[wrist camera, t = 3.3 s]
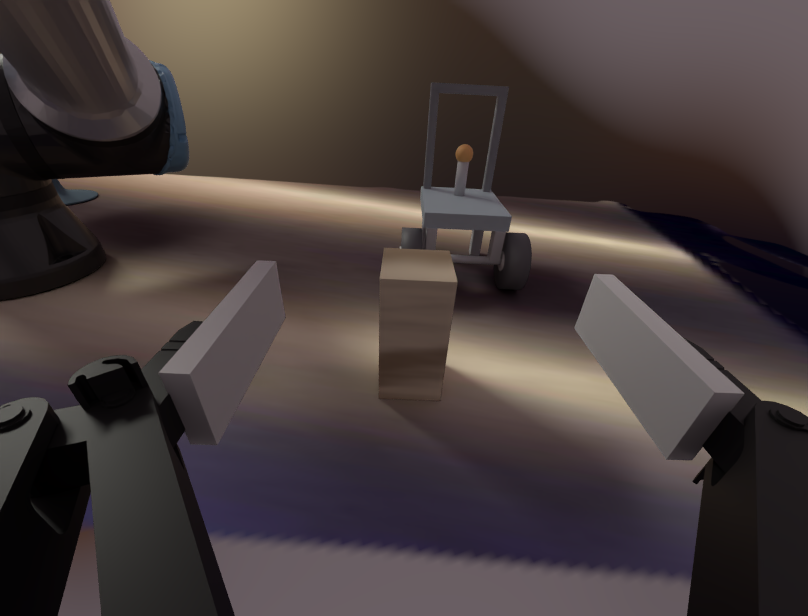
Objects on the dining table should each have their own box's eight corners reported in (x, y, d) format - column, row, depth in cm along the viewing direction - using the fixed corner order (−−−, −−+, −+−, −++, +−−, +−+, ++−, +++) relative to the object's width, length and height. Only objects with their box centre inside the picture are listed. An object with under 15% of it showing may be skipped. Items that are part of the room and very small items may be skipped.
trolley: (523, 300, 42) (580, 89, 31) (398, 294, 42) (407, 80, 30) (496, 250, 55) (530, 88, 43) (400, 246, 55) (407, 81, 43)
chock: (440, 400, 28) (457, 282, 22) (378, 398, 28) (379, 278, 22) (435, 360, 32) (449, 250, 27) (382, 357, 32) (384, 247, 26)
